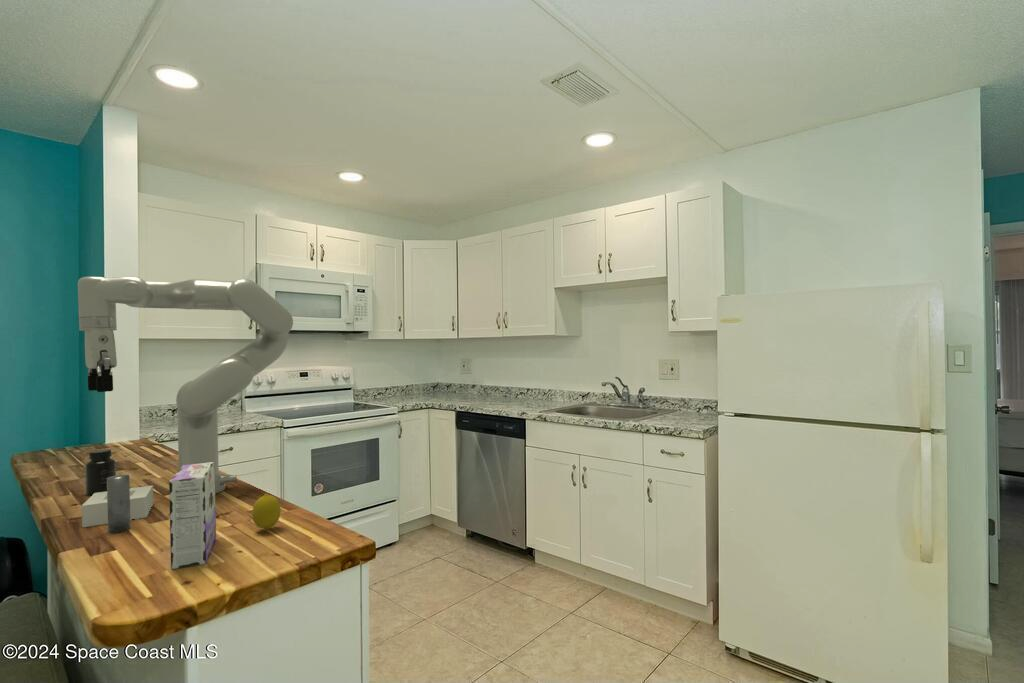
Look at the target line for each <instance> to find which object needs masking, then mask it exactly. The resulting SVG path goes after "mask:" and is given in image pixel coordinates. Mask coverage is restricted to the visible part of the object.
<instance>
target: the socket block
mask: <svg viewBox="0 0 1024 683" xmlns="http://www.w3.org/2000/svg"><path fill="white" fill-rule="evenodd" d="M153 506H154V485H147V486H146V485H144V486H139V487H131V488H130V521H133V520H132V519H135V520H140V519H139V518H141V519H147V517H148V515H149V513H150V512H151V510H152V508H153ZM151 507H152V508H151ZM150 509H151V510H150ZM149 511H150V512H149ZM102 525H108V507H107V491H106V492H98V493H94V494H93V495H92V496H90V497H89V498H88V499H87V500H85V502H83V504H81V527H82V528H89V527H95V526H102Z"/></svg>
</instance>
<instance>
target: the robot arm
mask: <svg viewBox="0 0 1024 683" xmlns="http://www.w3.org/2000/svg"><path fill="white" fill-rule="evenodd" d="M77 298H78V300H77V301H78V303H77V304H78V325H79V326H78V328H79V329H78V330H79V331H81V332H84V357H85V358H84V359H85V367H86V368H87V369H88V371H87V390H88V391H90V392H91V391H96V392H97V393H107V392H113V391H114V376H113V368H114V369H115V368H116V367H117V365H118V362H117V361H118V359H117V350H116V349H117V347H116V339H115V333H114V332H115V331H117V329H118V327H117V325H118V324H117V304H122V305H126V306H128V307H132V308H138V309H139V308H141V309H180V310H181V309H182V310H202V311H203V310H207V311H209V310H211V311H212V310H213V311H216V310H217V311H218V310H219V311H238V312H239V311H241V312H243V314H245V315H246V316H247V317H248V318H249V319H251V320H252V321H253V322H254V323H255V324H257V325H258V328H259V334H258V335H257V337H256V338H254V339H253V341H251V342H250V343H249V344H246V345H245V346H244V347H243V348H241V349H239V350H238V351H236V352H235V353H233V354H232V355H230V356H227V357H225V358H224V359H222V360H220V361H219V362H218V363H217V364H216V365H215V366H212V368H210V369H208V370H207V371H205V372H203V373H202V374H201V375H199V376H198V377H196V378H195V379H193V380H190V381H187V382H186V383H183V385H182V386H181V387H180V388H179V390H178V391H177V394H176V396H175V397H176V399H175V400H176V401H175V402H176V407H177V408H176V409H177V438H178V439H177V444H178V445H177V447H178V448H177V449H178V450H177V451H178V453H177V454H178V471H179V470H180V469H181V468H182V466H183V465H190V464H199V463H208V462H214V476H215V495H216V494H218V493H221V492H223V491H225V490H226V483H236V482H237V481H238V479H237V478H238V475H237V474H227V475H223V474H221V471H219V470H220V469H219V468H220V467H219V464H220V463H219V428H218V426H219V425H218V422H219V421H218V408H219V407H221V406H222V405H225V403H227V402H228V401H230V400H231V399H233V398H234V397H236V396H237V395H239V394H240V393H241V392H243V391H244V390H245V389H246V388H247V387H248V386H250V385H251V383H252V382H253V378H254V377H255V376H257V375H259V374H260V373H261V372H262V371H265V369H266V368H267V367H269V366H271V365H272V364H274V362H276V361H277V360H279V358H280V357H281V355H283V353H284V352H285V350H286V348H287V345H288V342H289V333H290V331H291V330H292V328H293V325H294V319H293V316H292V314H291V313H290V312H289V310H288V309H286V308H285V306H284V305H282V304H281V303H280V302H279V301H277V300H276V299H275V298H274V297H273V296H272V295H270V293H268V292H267V291H266V290H265V289H264V288H262V287H261V286H260V285H259V284H258V283H256V282H255V281H254V280H252V279H249V278H247V279H246V278H241V279H238V280H237V279H236V280H235V281H234V280H233V281H232V280H215V279H214V280H212V279H201V278H200V279H197V278H194V279H188V280H183V281H177V282H173V281H172V282H162V281H161V282H159V281H157V282H156V281H145V280H144V279H142V278H140V277H137V276H133V275H132V276H128V275H127V276H118V277H104V276H83V277H81V278H79V279H78V281H77Z"/></svg>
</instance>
